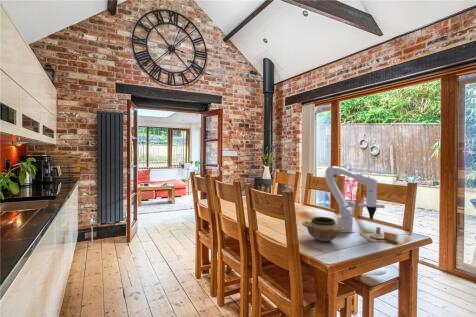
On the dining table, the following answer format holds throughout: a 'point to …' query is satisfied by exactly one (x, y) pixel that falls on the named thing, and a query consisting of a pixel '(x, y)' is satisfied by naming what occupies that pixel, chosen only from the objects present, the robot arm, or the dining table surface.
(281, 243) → the dining table surface
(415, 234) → the dining table surface
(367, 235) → the board
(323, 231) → the ceramic bowl
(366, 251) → the dining table surface
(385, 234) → the pink irregular piece
